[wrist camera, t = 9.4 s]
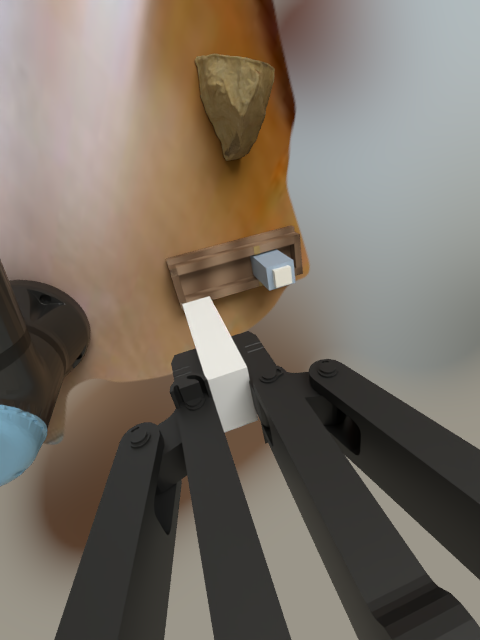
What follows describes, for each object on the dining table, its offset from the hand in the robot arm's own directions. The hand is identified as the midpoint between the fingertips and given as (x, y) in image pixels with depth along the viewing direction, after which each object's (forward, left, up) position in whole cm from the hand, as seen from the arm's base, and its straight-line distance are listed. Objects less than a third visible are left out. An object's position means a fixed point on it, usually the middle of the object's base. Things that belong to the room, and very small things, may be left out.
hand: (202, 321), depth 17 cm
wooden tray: (+9, -9, -30) cm, 33 cm away
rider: (+13, -9, -29) cm, 33 cm away
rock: (+11, +11, -31) cm, 34 cm away
